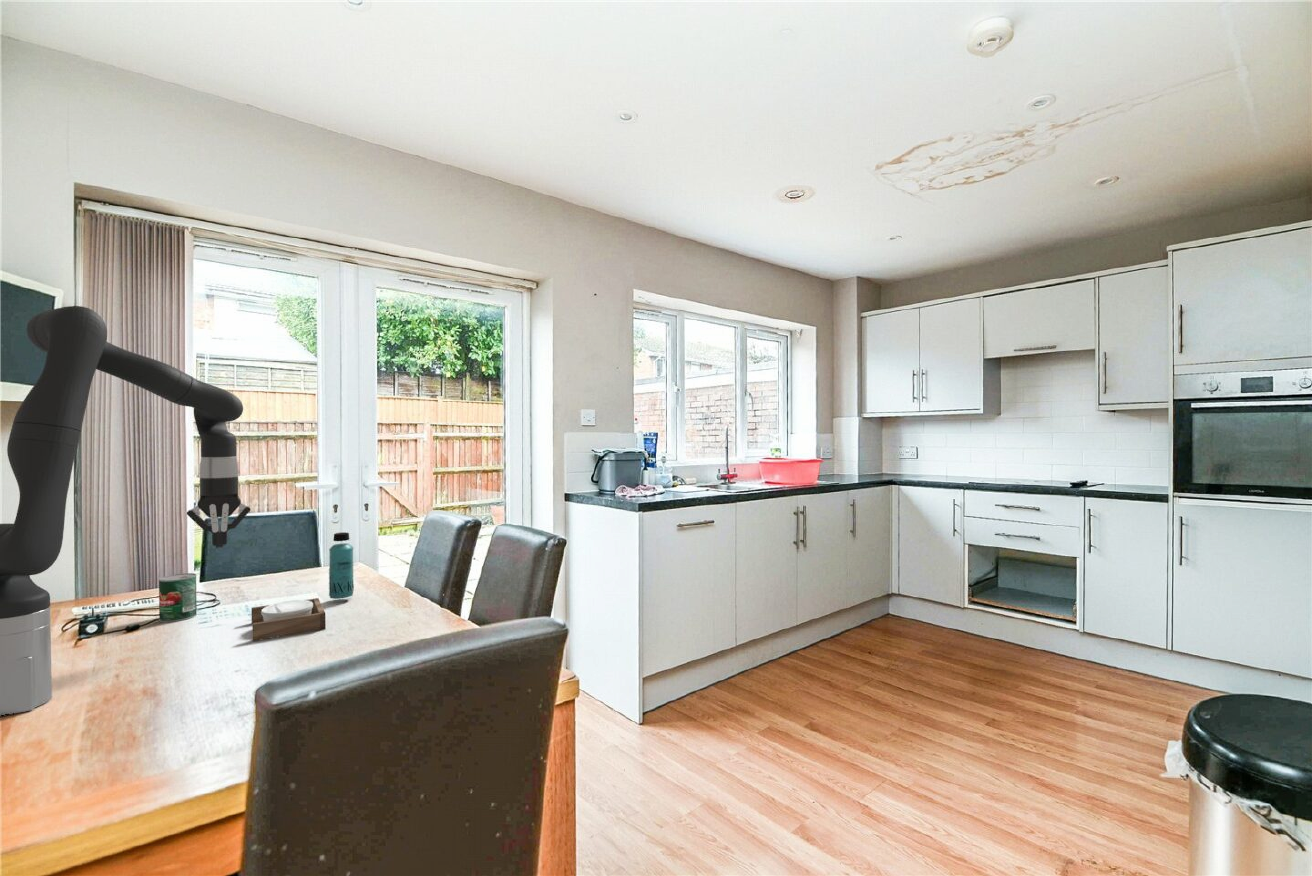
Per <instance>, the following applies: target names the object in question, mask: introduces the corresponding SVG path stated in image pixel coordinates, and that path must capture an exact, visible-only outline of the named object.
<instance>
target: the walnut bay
mask: <svg viewBox="0 0 1312 876" xmlns="http://www.w3.org/2000/svg"><path fill="white" fill-rule="evenodd" d="M306 600H307V601H311V602H312V603H313V608H312V612H311V614H309V615H303V616H296V617H290V618H283V619H277V620H271V621H264V620H263V616H262V614H261V610H262V609H263V608H265V607H267V606H269V605H270V604H267V605H260V606H254V607H253V606H252V607H251V612H250V613H251V625H252V642H257V641H256V640H258V641H261V640H260V639H264V640H267V639H266V638H270V637H276V638H278V637H277V636H282V637H286V636H287V635H288V636H292V635H293V636H294V635H298V633H299V634H304V633H303V632H305V633H309V631H311V632H316V631H315V630H317V631H321V629H323V630H326V624H327V623H326V612H325V610H324V607H323V605H322V603H321V601H320V599H319V597H316V598H310V599H309V598H308V599H306ZM270 639H271V638H270Z"/></svg>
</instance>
